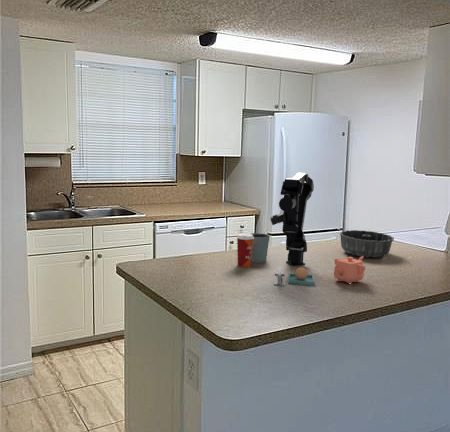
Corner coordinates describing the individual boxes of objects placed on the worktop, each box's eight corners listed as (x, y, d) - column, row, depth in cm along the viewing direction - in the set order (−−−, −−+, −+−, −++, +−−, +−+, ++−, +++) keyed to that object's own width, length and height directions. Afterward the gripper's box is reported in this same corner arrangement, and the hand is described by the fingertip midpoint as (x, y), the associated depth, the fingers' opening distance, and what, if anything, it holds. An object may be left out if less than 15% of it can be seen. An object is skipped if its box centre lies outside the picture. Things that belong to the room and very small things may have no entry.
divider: (275, 273, 201) (275, 264, 200) (284, 274, 200) (285, 265, 200) (273, 285, 185) (274, 275, 185) (284, 285, 185) (284, 275, 184)
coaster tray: (288, 276, 198) (288, 273, 197) (313, 278, 196) (313, 274, 196) (288, 283, 188) (288, 280, 187) (314, 285, 186) (314, 282, 186)
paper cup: (251, 268, 208) (252, 237, 206) (234, 267, 209) (235, 235, 207) (253, 264, 215) (255, 233, 213) (237, 262, 217) (238, 232, 215)
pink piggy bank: (364, 288, 186) (366, 262, 184) (333, 285, 188) (335, 260, 186) (361, 278, 199) (363, 254, 198) (332, 275, 202) (334, 252, 200)
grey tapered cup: (243, 261, 220) (244, 235, 218) (250, 256, 229) (251, 232, 227) (264, 264, 216) (265, 238, 214) (270, 259, 226) (272, 234, 224)
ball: (302, 277, 195) (302, 265, 195) (309, 280, 191) (310, 268, 190) (292, 278, 193) (292, 266, 192) (299, 281, 188) (300, 269, 188)
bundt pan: (397, 253, 247) (399, 234, 246) (384, 263, 225) (386, 243, 224) (348, 246, 261) (349, 228, 260) (331, 254, 239) (332, 235, 238)
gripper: (272, 204, 210) (270, 239, 213) (271, 210, 192) (269, 248, 194) (298, 205, 209) (296, 240, 211) (299, 211, 191) (296, 250, 193)
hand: (289, 244), depth 203 cm, fingers open, 9 cm apart
